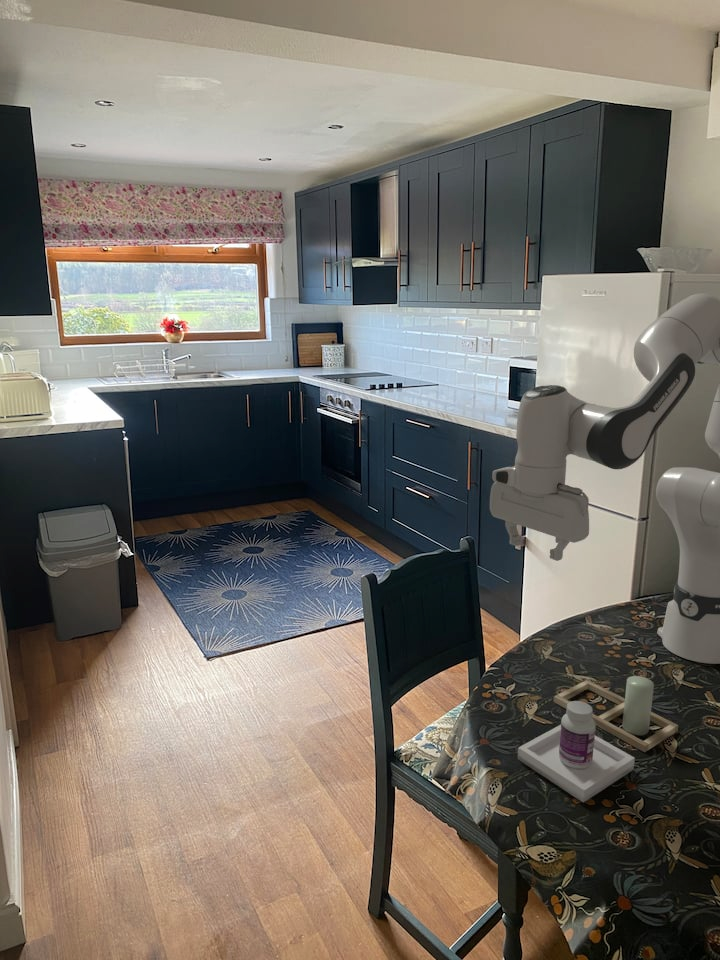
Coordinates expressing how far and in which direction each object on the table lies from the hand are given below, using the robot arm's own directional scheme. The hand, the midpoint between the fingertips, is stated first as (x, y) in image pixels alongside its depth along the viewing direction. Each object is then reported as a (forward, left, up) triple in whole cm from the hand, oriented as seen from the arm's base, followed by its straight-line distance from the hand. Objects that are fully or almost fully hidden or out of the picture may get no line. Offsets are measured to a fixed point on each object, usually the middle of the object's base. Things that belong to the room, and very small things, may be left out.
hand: (535, 551), depth 130 cm
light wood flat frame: (-7, +14, -29) cm, 33 cm away
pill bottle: (+10, +19, -28) cm, 36 cm away
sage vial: (-7, +19, -29) cm, 35 cm away
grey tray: (+10, +19, -29) cm, 36 cm away
